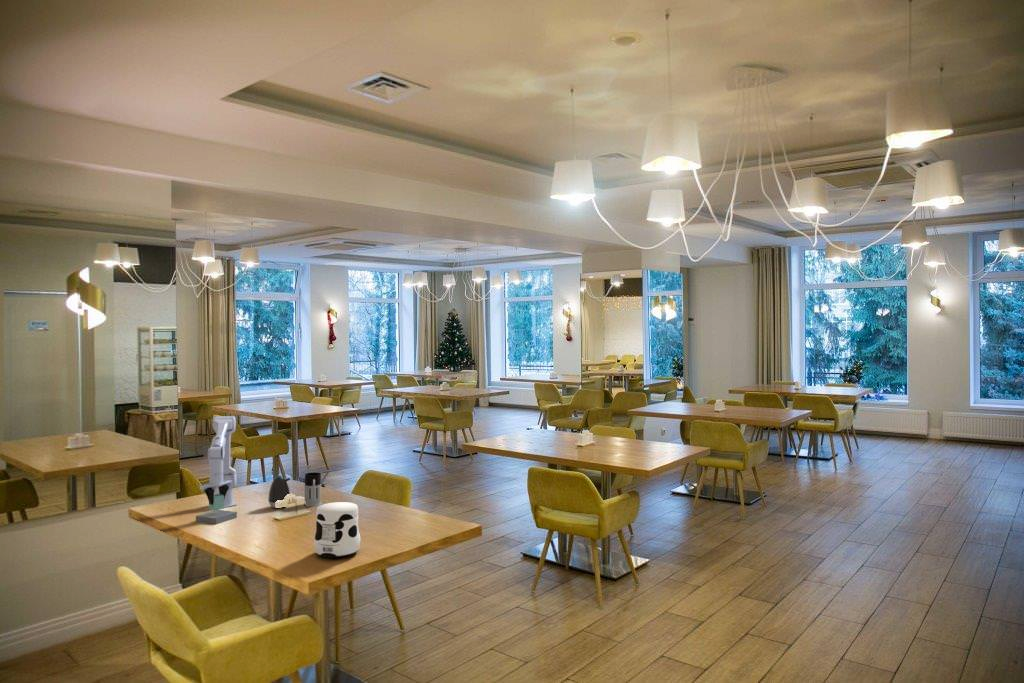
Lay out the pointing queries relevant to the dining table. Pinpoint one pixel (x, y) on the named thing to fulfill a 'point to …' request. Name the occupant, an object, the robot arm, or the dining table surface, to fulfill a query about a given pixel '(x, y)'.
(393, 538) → the dining table surface
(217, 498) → the teal block
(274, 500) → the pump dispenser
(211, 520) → the slate base
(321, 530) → the milk container
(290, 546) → the dining table surface
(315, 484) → the glass holder
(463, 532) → the dining table surface
